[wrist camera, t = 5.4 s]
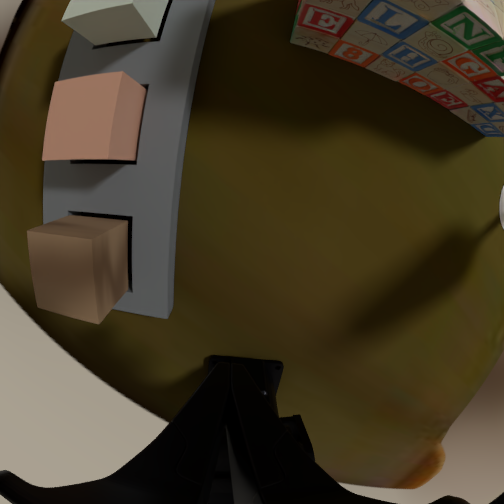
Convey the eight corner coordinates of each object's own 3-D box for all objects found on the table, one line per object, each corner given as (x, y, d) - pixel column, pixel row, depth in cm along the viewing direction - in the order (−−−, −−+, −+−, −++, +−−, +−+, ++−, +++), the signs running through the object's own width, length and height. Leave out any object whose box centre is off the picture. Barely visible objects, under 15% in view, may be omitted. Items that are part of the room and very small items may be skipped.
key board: (173, 306, 21) (167, 319, 19) (62, 285, 20) (50, 294, 18) (219, -15, 13) (218, -28, 11) (100, -2, 13) (92, -11, 11)
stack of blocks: (486, 87, 16) (569, 78, 4) (485, 138, 18) (578, 144, 6) (298, -9, 14) (338, -106, 2) (286, 44, 16) (333, -65, 4)
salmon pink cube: (140, 160, 17) (107, 159, 12) (82, 159, 17) (42, 160, 12) (150, 92, 16) (123, 71, 11) (91, 96, 15) (55, 81, 10)
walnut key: (128, 289, 18) (99, 324, 13) (73, 278, 18) (37, 307, 13) (128, 220, 17) (91, 239, 12) (69, 215, 16) (27, 230, 12)
